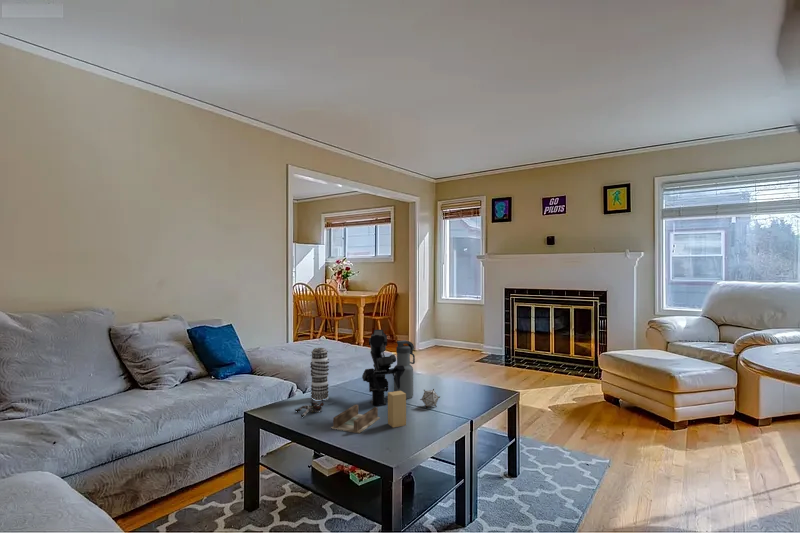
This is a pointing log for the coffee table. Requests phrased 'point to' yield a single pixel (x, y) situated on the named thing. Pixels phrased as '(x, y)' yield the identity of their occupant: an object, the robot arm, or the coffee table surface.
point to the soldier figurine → (311, 408)
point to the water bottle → (404, 360)
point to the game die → (430, 398)
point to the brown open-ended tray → (355, 420)
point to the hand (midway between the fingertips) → (389, 389)
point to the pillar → (396, 408)
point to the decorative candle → (319, 374)
